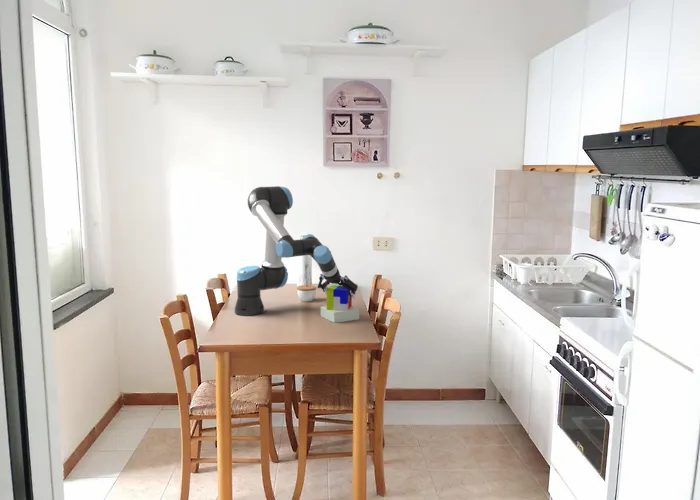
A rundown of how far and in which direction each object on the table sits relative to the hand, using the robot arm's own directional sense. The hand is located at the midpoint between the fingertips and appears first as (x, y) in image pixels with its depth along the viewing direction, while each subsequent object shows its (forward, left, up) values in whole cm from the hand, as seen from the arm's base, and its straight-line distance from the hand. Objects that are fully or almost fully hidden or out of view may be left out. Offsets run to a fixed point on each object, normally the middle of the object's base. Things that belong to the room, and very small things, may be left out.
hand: (341, 295), depth 274 cm
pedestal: (+1, -2, -11) cm, 11 cm away
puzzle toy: (+1, -2, -6) cm, 6 cm away
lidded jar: (-41, 0, -11) cm, 42 cm away
